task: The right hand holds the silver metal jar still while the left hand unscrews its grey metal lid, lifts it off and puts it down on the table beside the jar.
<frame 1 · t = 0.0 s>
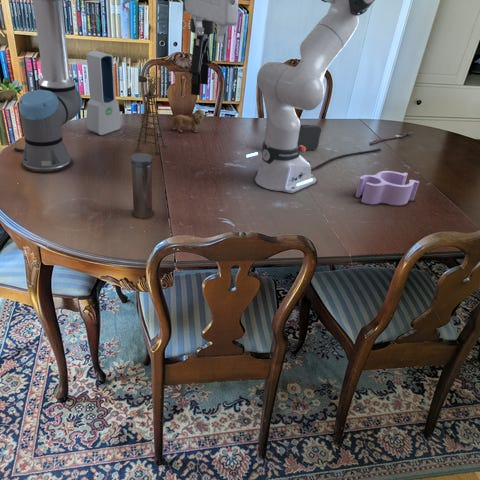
left hand: (199, 89, 153), 28 cm above the table, tool pointing down, fingers open, 13 cm apart
right hand: (208, 38, 122), 48 cm above the table, tool pointing down, fingers open, 8 cm apart
lid: (141, 158, 128), point 18 cm above the table, screwed on, not yet turned
jar: (142, 213, 138), on the table
miniature windmill: (150, 148, 179), on the table
sword: (391, 139, 213), on the table
electronic device: (104, 130, 191), on the table
handheld gaming console: (291, 150, 191), on the table
lion figurine: (187, 130, 199), on the table
clip: (383, 197, 162), on the table
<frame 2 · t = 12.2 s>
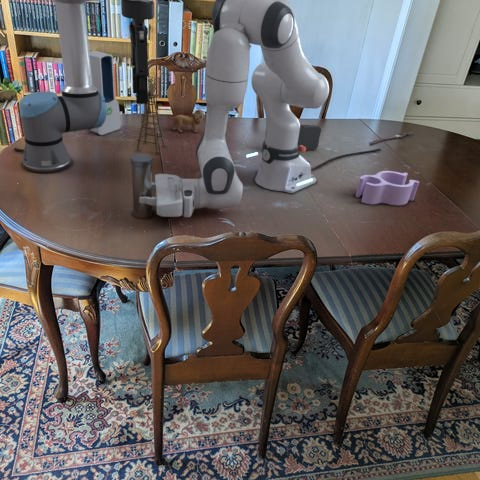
left hand: (140, 97, 119), 34 cm above the table, tool pointing down, fingers open, 8 cm apart
right hand: (139, 193, 134), 7 cm above the table, tool horizontal, fingers closed on jar, 5 cm apart
jar: (142, 213, 138), on the table, touching right hand
everything else where it was.
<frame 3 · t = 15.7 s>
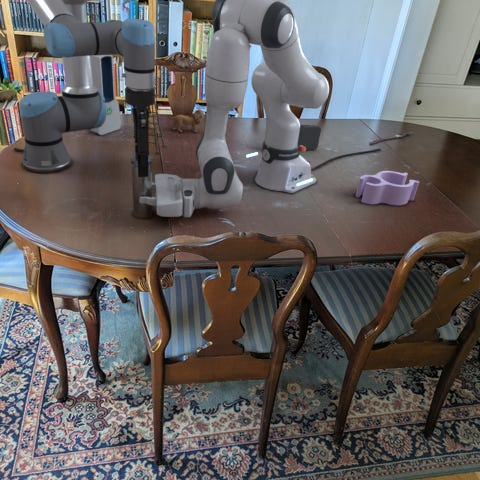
left hand: (141, 171, 130), 14 cm above the table, tool pointing down, fingers closed on lid, 6 cm apart
right hand: (139, 193, 134), 7 cm above the table, tool horizontal, fingers closed on jar, 5 cm apart
lid: (141, 158, 128), point 18 cm above the table, screwed on, not yet turned, touching left hand
jar: (142, 213, 138), on the table, touching right hand
everything else where it was.
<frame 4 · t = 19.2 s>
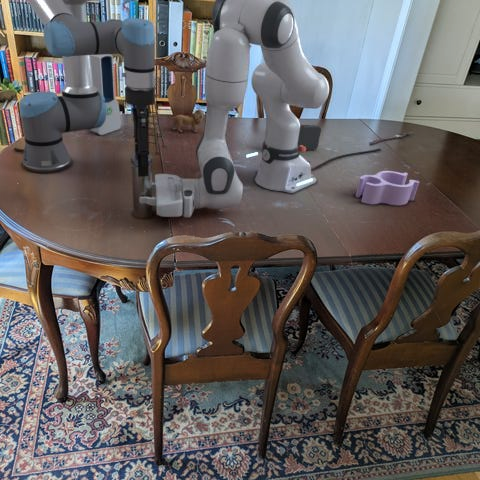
left hand: (141, 170, 130), 14 cm above the table, tool pointing down, fingers closed on lid, 6 cm apart
right hand: (139, 193, 134), 7 cm above the table, tool horizontal, fingers closed on jar, 5 cm apart
lid: (141, 157, 128), point 18 cm above the table, turned 100° so far, risen 0.2 cm, still on its thread, touching left hand
jar: (142, 213, 138), on the table, touching right hand
everything else where it was.
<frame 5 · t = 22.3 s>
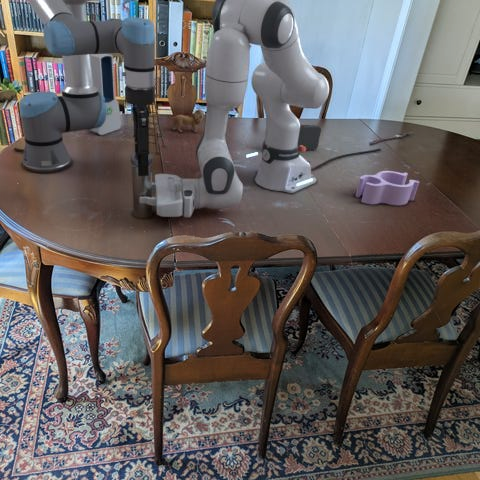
left hand: (141, 170, 130), 14 cm above the table, tool pointing down, fingers closed on lid, 6 cm apart
right hand: (139, 193, 134), 7 cm above the table, tool horizontal, fingers closed on jar, 5 cm apart
lid: (141, 157, 128), point 18 cm above the table, turned 199° so far, risen 0.3 cm, still on its thread, touching left hand
jar: (142, 213, 138), on the table, touching right hand
everything else where it was.
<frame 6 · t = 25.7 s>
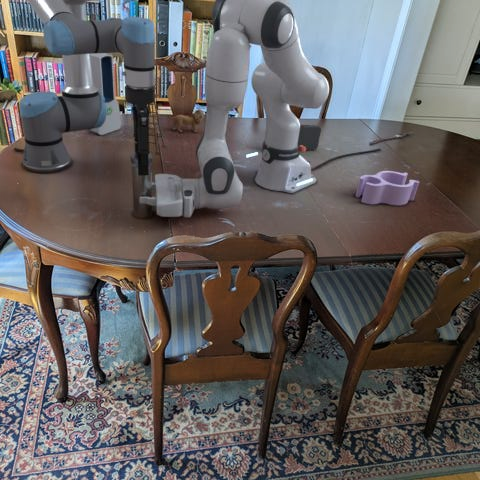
left hand: (141, 169, 130), 14 cm above the table, tool pointing down, fingers closed on lid, 6 cm apart
right hand: (139, 193, 134), 7 cm above the table, tool horizontal, fingers closed on jar, 5 cm apart
lid: (141, 156, 128), point 18 cm above the table, turned 299° so far, risen 0.5 cm, still on its thread, touching left hand
jar: (142, 213, 138), on the table, touching right hand
everything else where it was.
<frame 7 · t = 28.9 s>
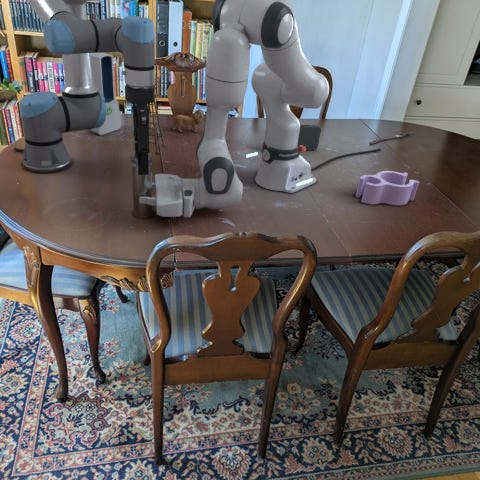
left hand: (141, 169, 130), 14 cm above the table, tool pointing down, fingers closed on lid, 6 cm apart
right hand: (139, 193, 134), 7 cm above the table, tool horizontal, fingers closed on jar, 5 cm apart
lid: (141, 156, 128), point 18 cm above the table, turned 398° so far, risen 0.6 cm, still on its thread, touching left hand
jar: (142, 213, 138), on the table, touching right hand
everything else where it was.
when the left hand's fingers open (0 cm above the table, at t = 37.6 s): lid drops 3 cm, point 1 cm above the table.
when the right hand's fingers open (7 cm above the table, at t = 38.3 s): jar stays where it is, on the table.
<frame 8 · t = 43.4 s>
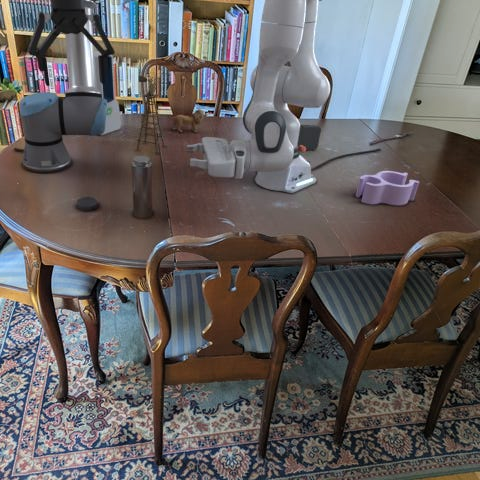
left hand: (75, 83, 119), 36 cm above the table, tool pointing down, fingers open, 13 cm apart
right hand: (188, 155, 130), 19 cm above the table, tool horizontal, fingers open, 8 cm apart
lid: (87, 202, 138), point 1 cm above the table, off its thread
jar: (142, 213, 138), on the table
everything else where it was.
at the end: lid came off its thread; lid point 1.2 cm above the table; the left hand is holding nothing; the right hand is holding nothing; jar tilted 0°; jar moved 0.0 cm from its start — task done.
